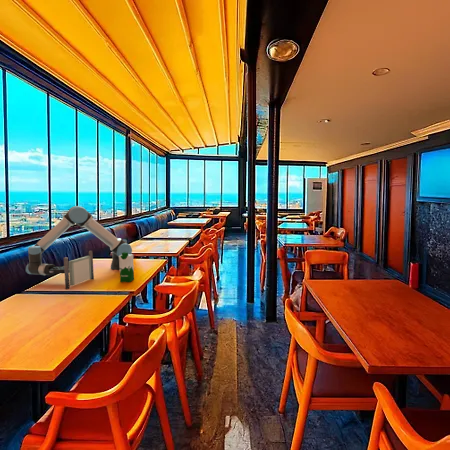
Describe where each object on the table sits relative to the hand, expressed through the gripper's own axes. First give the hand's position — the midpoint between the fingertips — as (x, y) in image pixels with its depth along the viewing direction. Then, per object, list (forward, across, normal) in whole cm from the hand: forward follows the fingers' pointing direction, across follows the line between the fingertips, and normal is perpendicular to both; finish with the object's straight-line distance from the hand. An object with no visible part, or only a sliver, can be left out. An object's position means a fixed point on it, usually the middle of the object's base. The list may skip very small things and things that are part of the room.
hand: (77, 270), depth 226 cm
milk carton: (+29, -14, -9) cm, 33 cm away
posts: (+1, -1, -9) cm, 9 cm away
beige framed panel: (+1, -2, -8) cm, 8 cm away
